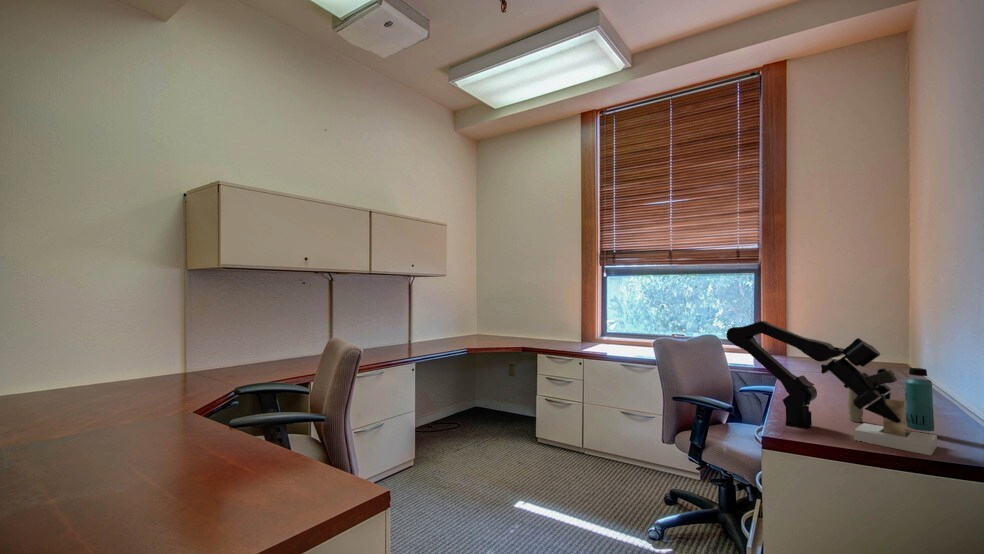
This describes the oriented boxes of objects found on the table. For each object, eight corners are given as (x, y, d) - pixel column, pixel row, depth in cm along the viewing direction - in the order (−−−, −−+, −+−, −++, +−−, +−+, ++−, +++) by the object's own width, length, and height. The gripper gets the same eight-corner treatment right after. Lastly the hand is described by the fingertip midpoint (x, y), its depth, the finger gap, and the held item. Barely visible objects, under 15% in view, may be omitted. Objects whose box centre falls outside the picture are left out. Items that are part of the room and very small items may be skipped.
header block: (854, 440, 129) (853, 429, 129) (864, 432, 137) (863, 423, 137) (931, 455, 117) (930, 443, 117) (937, 446, 124) (936, 435, 124)
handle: (871, 423, 147) (869, 378, 148) (849, 422, 148) (847, 377, 149) (862, 420, 152) (860, 375, 153) (841, 418, 153) (839, 375, 154)
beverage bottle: (929, 432, 138) (926, 367, 139) (939, 437, 132) (936, 370, 133) (902, 429, 141) (899, 365, 142) (911, 434, 135) (908, 368, 136)
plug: (884, 442, 127) (882, 400, 127) (887, 440, 129) (885, 398, 130) (903, 446, 124) (901, 403, 124) (905, 443, 126) (903, 401, 127)
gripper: (866, 362, 125) (922, 409, 116) (880, 357, 137) (932, 399, 128) (833, 386, 131) (883, 432, 121) (849, 379, 142) (897, 421, 133)
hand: (900, 420), depth 126 cm, fingers closed on plug, 4 cm apart
